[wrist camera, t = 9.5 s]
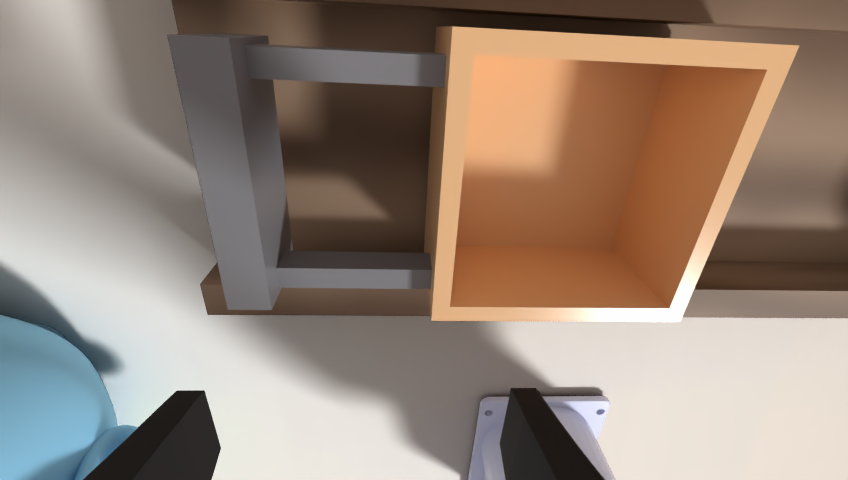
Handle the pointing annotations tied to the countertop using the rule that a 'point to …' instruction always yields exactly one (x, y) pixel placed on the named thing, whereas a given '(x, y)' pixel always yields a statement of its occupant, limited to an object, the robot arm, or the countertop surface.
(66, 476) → the decorative pot
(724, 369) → the countertop surface
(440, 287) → the drawer
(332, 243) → the bay
